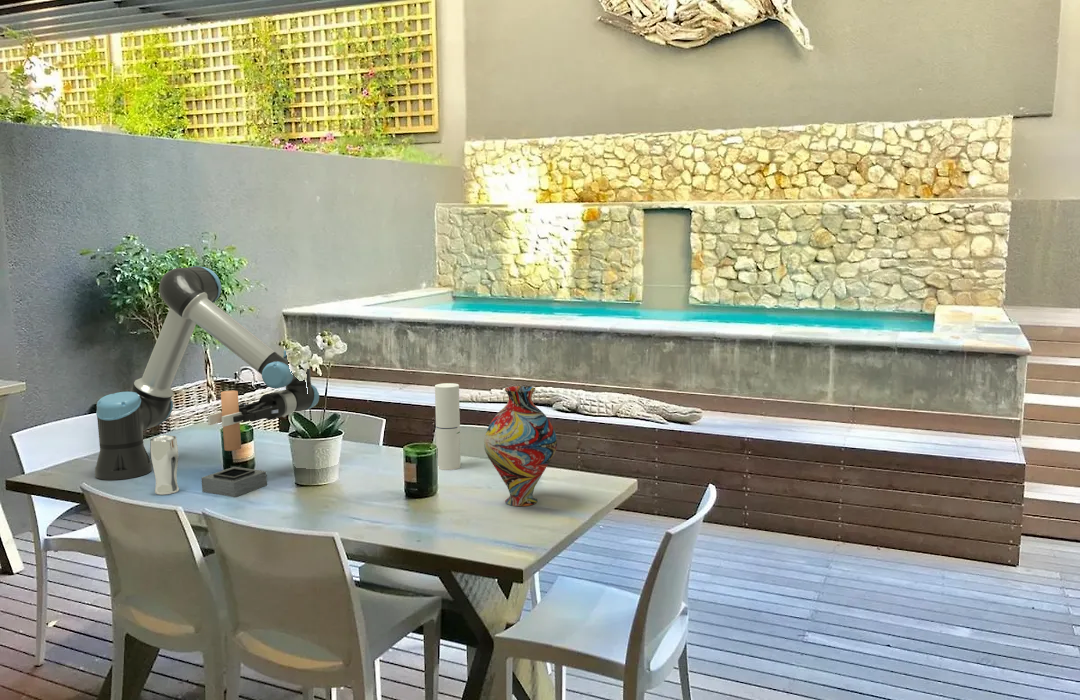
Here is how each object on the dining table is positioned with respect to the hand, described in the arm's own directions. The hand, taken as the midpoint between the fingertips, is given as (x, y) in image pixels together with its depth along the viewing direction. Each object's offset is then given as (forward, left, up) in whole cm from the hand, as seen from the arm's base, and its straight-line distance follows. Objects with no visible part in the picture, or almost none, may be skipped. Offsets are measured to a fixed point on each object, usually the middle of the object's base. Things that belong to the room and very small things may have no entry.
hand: (215, 420), depth 228 cm
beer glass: (-15, -5, -20) cm, 26 cm away
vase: (+78, +27, -20) cm, 85 cm away
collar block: (0, +5, -20) cm, 21 cm away
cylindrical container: (+43, +48, -20) cm, 68 cm away
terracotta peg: (0, +5, -9) cm, 10 cm away
